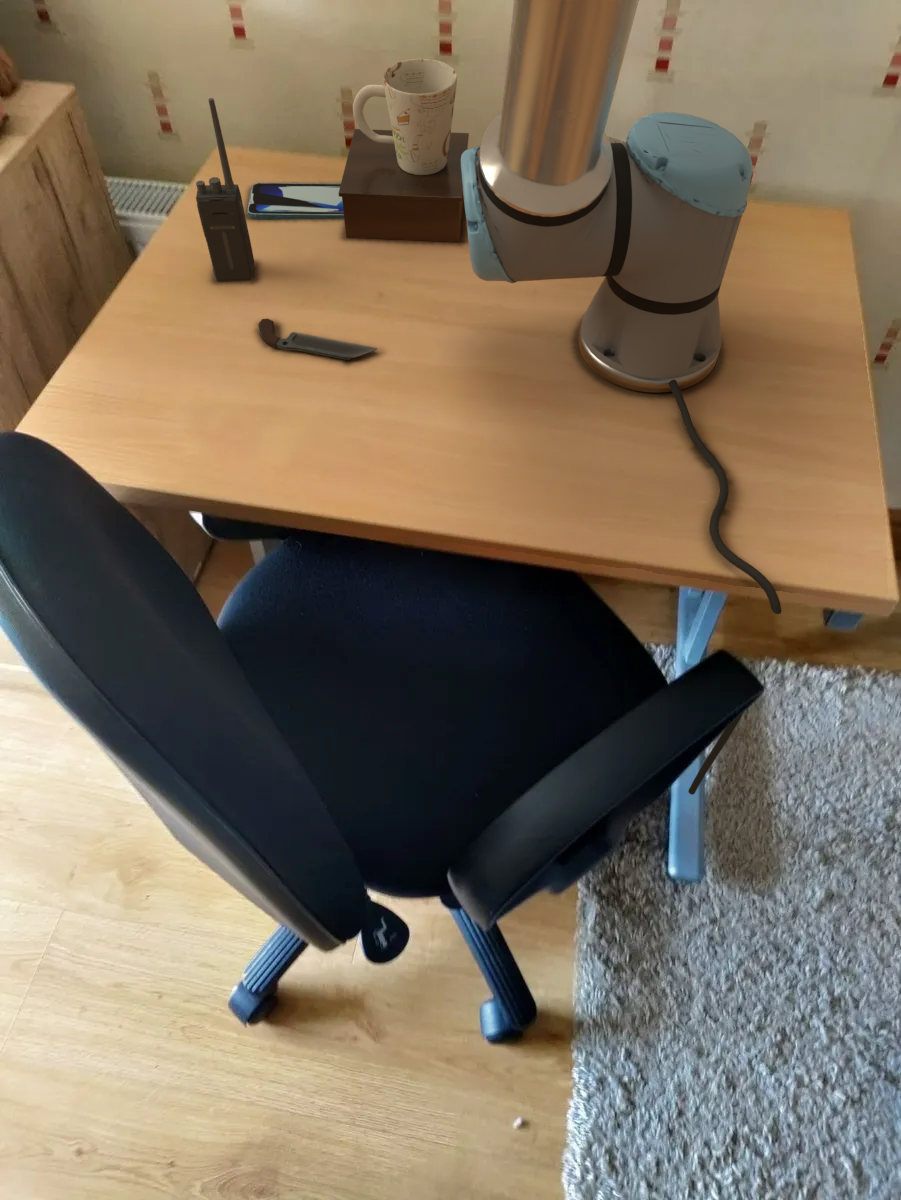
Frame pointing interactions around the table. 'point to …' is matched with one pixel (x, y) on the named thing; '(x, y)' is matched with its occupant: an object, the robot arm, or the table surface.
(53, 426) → the table surface
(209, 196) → the walkie-talkie
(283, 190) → the smartphone
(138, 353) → the table surface
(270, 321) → the knife
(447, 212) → the stand
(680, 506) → the table surface
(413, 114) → the mug
